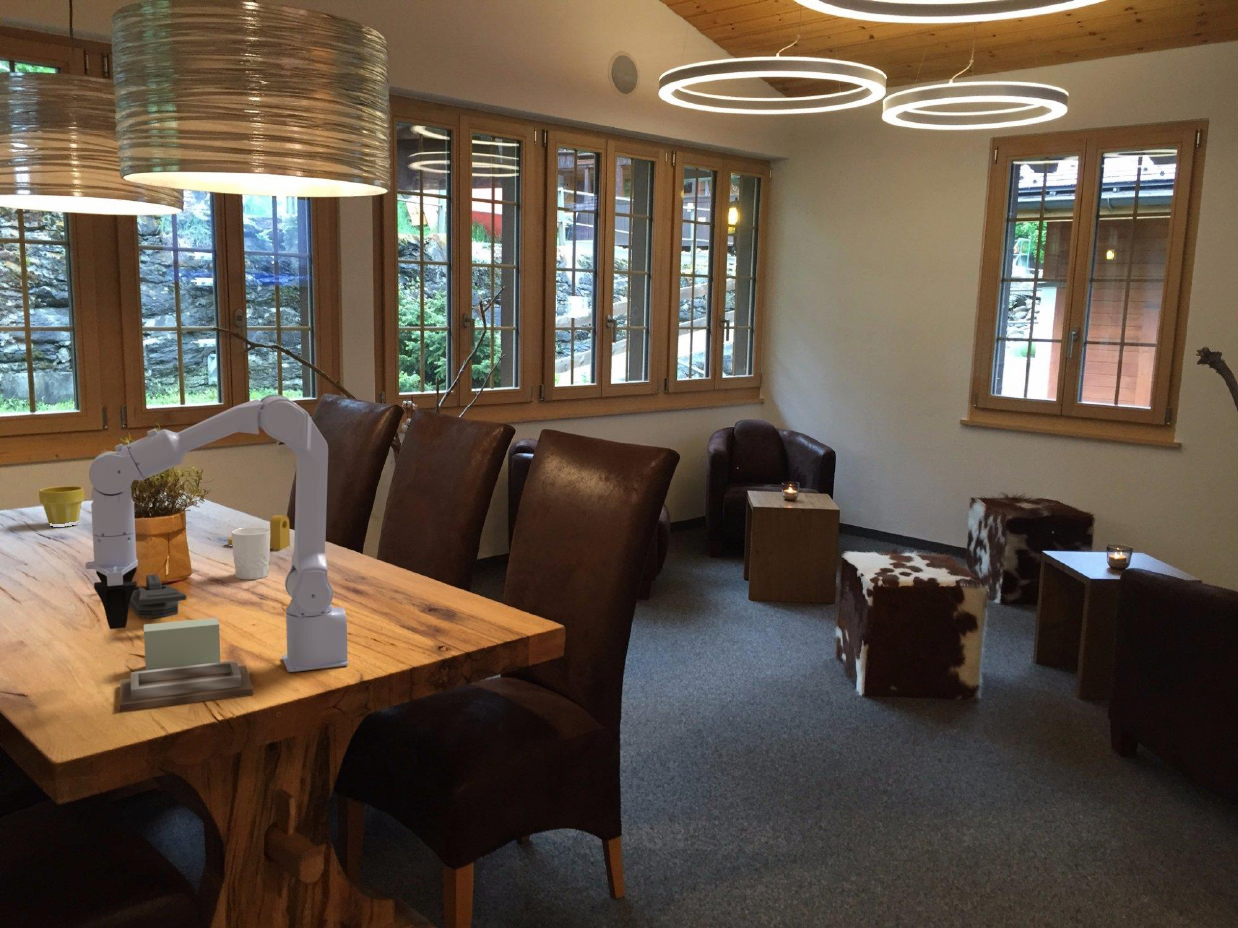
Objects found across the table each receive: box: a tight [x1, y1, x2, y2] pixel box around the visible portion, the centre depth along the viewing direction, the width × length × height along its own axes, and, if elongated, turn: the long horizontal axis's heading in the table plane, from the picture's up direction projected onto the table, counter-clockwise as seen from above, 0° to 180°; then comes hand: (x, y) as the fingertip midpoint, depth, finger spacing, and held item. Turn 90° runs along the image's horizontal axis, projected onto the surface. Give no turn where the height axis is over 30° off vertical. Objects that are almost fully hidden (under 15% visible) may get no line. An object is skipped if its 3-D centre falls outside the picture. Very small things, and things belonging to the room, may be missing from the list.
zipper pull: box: [129, 573, 187, 619], centre depth 192 cm, size 9×7×25 cm
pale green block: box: [143, 617, 221, 671], centre depth 165 cm, size 11×4×7 cm, turn 115°
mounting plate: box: [119, 660, 254, 712], centre depth 154 cm, size 18×11×2 cm, turn 115°
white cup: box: [231, 526, 271, 581], centre depth 222 cm, size 8×8×10 cm
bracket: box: [227, 514, 291, 551], centre depth 249 cm, size 15×4×8 cm, turn 78°
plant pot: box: [38, 485, 85, 524], centre depth 268 cm, size 10×10×10 cm
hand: (118, 620), depth 155 cm, fingers open, 7 cm apart
